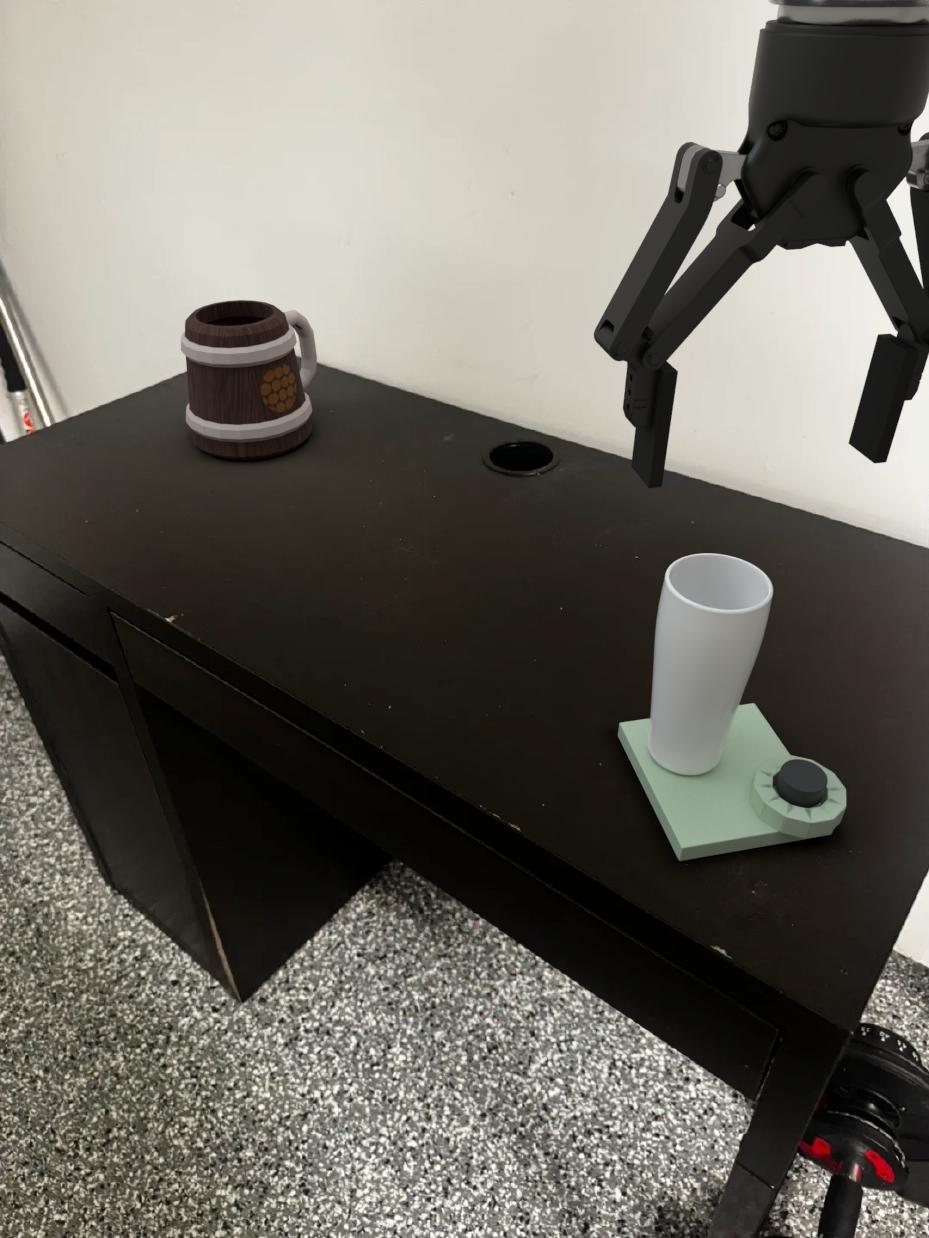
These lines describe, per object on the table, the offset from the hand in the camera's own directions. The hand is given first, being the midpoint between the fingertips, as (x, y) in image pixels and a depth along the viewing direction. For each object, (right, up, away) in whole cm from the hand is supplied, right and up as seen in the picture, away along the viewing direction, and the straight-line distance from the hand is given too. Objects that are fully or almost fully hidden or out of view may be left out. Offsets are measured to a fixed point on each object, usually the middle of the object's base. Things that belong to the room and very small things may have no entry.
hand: (758, 465), depth 51 cm
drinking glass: (-1, -19, +14) cm, 23 cm away
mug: (-41, +15, +61) cm, 75 cm away
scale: (+1, -21, +13) cm, 24 cm away
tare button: (+6, -20, +9) cm, 23 cm away
